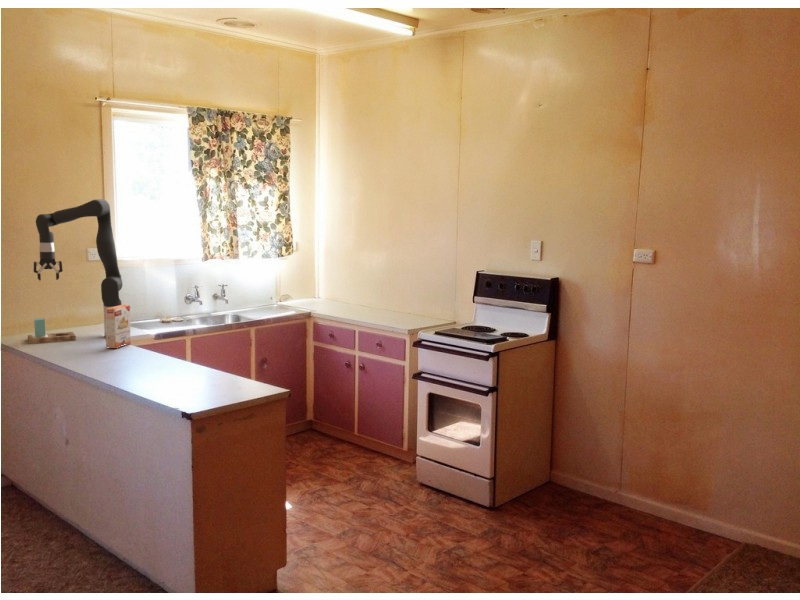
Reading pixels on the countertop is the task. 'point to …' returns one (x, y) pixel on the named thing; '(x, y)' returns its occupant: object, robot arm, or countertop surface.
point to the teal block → (39, 327)
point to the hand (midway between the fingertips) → (48, 280)
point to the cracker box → (117, 326)
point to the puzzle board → (52, 337)
